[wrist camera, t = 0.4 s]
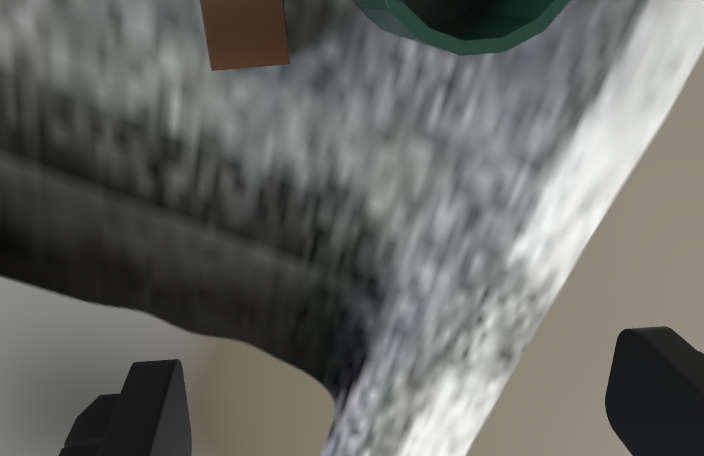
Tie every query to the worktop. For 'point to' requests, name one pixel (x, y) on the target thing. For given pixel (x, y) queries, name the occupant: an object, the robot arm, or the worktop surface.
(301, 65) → the worktop surface
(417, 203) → the worktop surface
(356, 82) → the worktop surface
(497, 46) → the tin
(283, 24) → the block
